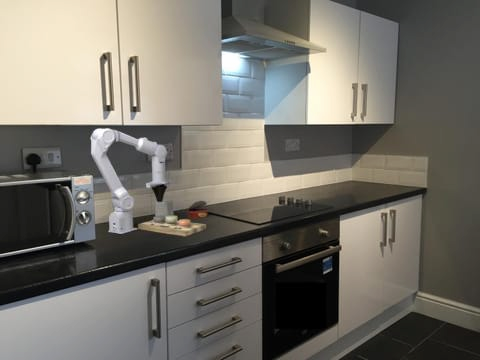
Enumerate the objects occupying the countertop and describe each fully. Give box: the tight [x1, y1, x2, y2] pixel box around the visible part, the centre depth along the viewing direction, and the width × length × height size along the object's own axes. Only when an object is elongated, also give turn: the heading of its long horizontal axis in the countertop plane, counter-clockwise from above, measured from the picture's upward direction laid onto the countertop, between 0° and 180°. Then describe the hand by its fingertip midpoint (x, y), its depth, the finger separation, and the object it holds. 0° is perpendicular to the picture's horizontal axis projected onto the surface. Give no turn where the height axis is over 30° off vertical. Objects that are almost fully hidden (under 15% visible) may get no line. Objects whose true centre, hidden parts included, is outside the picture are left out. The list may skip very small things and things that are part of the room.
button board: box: [137, 219, 207, 237], centre depth 182 cm, size 14×26×2 cm, turn 59°
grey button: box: [152, 216, 165, 223], centre depth 186 cm, size 5×5×2 cm
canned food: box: [187, 200, 209, 219], centre depth 208 cm, size 11×10×10 cm
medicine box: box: [154, 198, 174, 219], centre depth 205 cm, size 8×4×9 cm, turn 59°
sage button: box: [166, 214, 179, 223], centre depth 182 cm, size 5×5×2 cm
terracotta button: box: [178, 218, 192, 226], centre depth 179 cm, size 5×5×2 cm
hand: (159, 201), depth 190 cm, fingers closed
